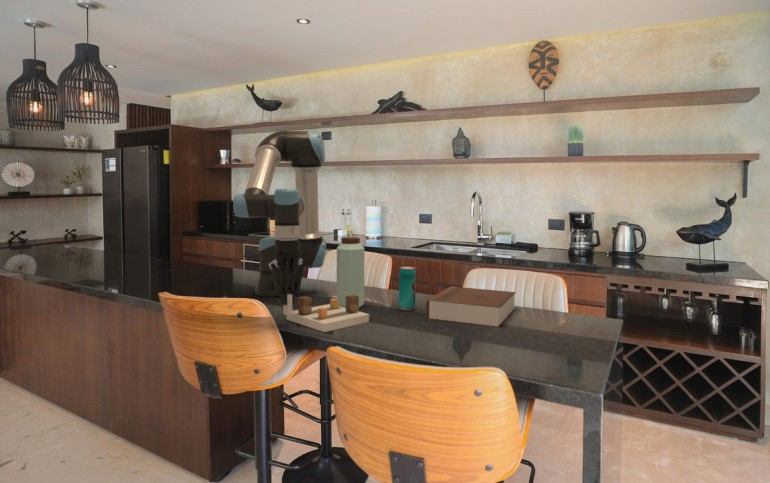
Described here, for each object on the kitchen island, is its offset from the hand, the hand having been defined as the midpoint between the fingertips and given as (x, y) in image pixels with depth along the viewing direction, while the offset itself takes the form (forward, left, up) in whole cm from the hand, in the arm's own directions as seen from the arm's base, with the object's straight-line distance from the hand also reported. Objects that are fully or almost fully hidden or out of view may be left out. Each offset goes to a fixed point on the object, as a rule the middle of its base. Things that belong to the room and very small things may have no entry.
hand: (287, 314), depth 160 cm
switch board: (+4, +12, -3) cm, 13 cm away
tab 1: (0, +6, -1) cm, 6 cm away
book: (+30, +56, -4) cm, 64 cm away
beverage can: (+10, +43, -4) cm, 45 cm away
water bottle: (-7, +31, -4) cm, 32 cm away
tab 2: (+8, +19, -1) cm, 21 cm away
